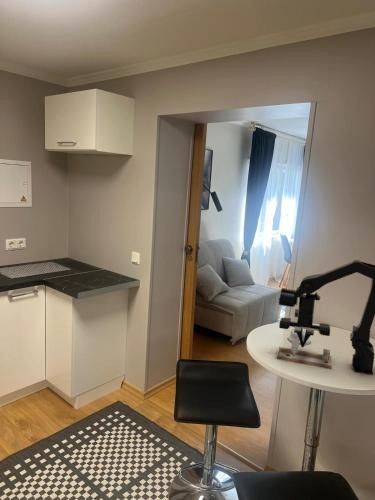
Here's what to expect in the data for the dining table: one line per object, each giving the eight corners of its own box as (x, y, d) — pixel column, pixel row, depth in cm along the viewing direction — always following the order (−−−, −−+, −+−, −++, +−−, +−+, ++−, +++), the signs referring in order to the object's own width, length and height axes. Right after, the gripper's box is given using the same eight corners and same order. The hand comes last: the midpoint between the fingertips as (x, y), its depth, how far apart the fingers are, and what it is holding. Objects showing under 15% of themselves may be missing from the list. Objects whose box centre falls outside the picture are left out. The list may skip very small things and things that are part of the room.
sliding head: (298, 350, 149) (299, 339, 148) (296, 357, 143) (298, 345, 142) (291, 349, 150) (292, 338, 149) (290, 356, 144) (291, 343, 143)
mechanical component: (313, 346, 158) (308, 337, 168) (314, 336, 157) (309, 327, 167) (289, 344, 159) (285, 335, 169) (290, 334, 158) (286, 326, 168)
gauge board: (331, 358, 146) (332, 348, 146) (331, 369, 138) (332, 358, 137) (279, 349, 153) (280, 339, 152) (276, 358, 145) (277, 348, 144)
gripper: (331, 306, 148) (327, 343, 151) (283, 300, 155) (280, 335, 157) (332, 315, 138) (327, 354, 141) (280, 307, 144) (277, 345, 147)
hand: (302, 346), depth 147 cm, fingers closed
